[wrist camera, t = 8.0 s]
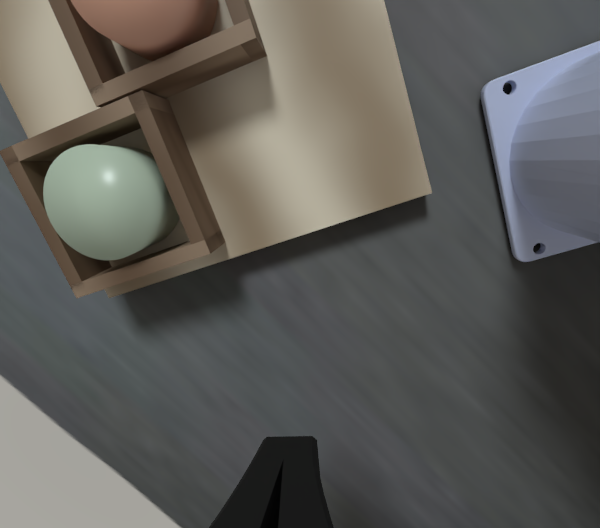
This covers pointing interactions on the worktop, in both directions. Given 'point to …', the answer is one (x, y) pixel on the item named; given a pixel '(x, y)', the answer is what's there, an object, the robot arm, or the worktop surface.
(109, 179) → the sage button
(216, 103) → the button panel
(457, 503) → the worktop surface
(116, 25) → the terracotta button
